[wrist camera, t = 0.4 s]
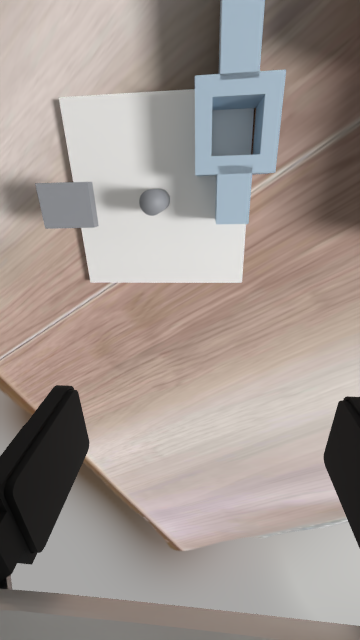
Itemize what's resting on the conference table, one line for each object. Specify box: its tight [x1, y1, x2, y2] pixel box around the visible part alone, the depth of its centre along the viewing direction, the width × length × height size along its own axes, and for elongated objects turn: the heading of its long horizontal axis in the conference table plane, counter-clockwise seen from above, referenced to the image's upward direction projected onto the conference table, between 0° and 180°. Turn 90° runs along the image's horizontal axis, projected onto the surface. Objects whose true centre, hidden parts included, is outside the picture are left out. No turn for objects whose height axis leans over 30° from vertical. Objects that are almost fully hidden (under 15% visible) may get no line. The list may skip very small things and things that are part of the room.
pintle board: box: [35, 89, 254, 283], centre depth 30 cm, size 20×20×8 cm
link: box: [195, 0, 286, 224], centre depth 26 cm, size 21×7×5 cm, turn 2°
